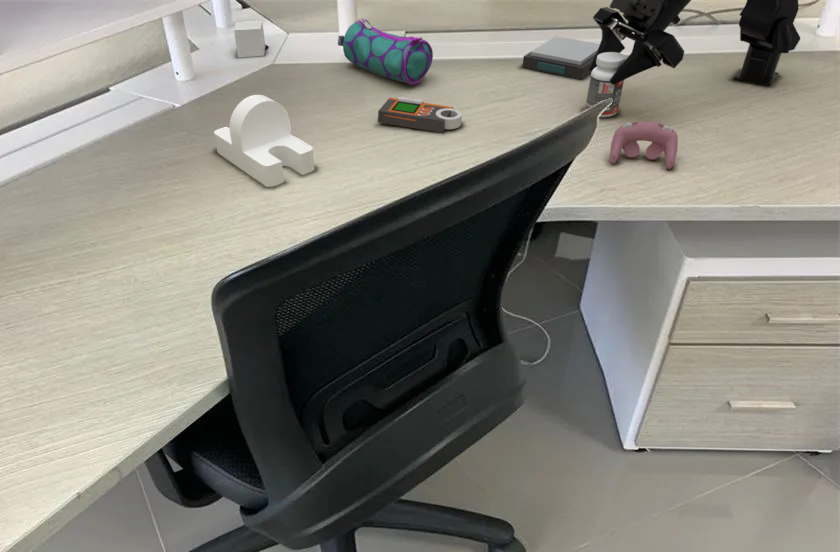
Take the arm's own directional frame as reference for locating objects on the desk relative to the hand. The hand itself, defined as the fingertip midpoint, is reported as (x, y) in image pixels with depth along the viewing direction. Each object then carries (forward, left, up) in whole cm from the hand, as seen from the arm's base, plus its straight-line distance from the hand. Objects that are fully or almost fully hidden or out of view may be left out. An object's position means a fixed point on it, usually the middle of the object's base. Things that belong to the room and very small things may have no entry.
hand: (600, 77), depth 123 cm
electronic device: (+20, -24, -7) cm, 32 cm away
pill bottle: (-1, +1, -7) cm, 7 cm away
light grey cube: (+9, -79, -7) cm, 80 cm away
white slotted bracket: (+47, -38, -7) cm, 61 cm away
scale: (-20, -15, -7) cm, 26 cm away
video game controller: (+13, +14, -7) cm, 20 cm away
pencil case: (+4, -44, -7) cm, 45 cm away
